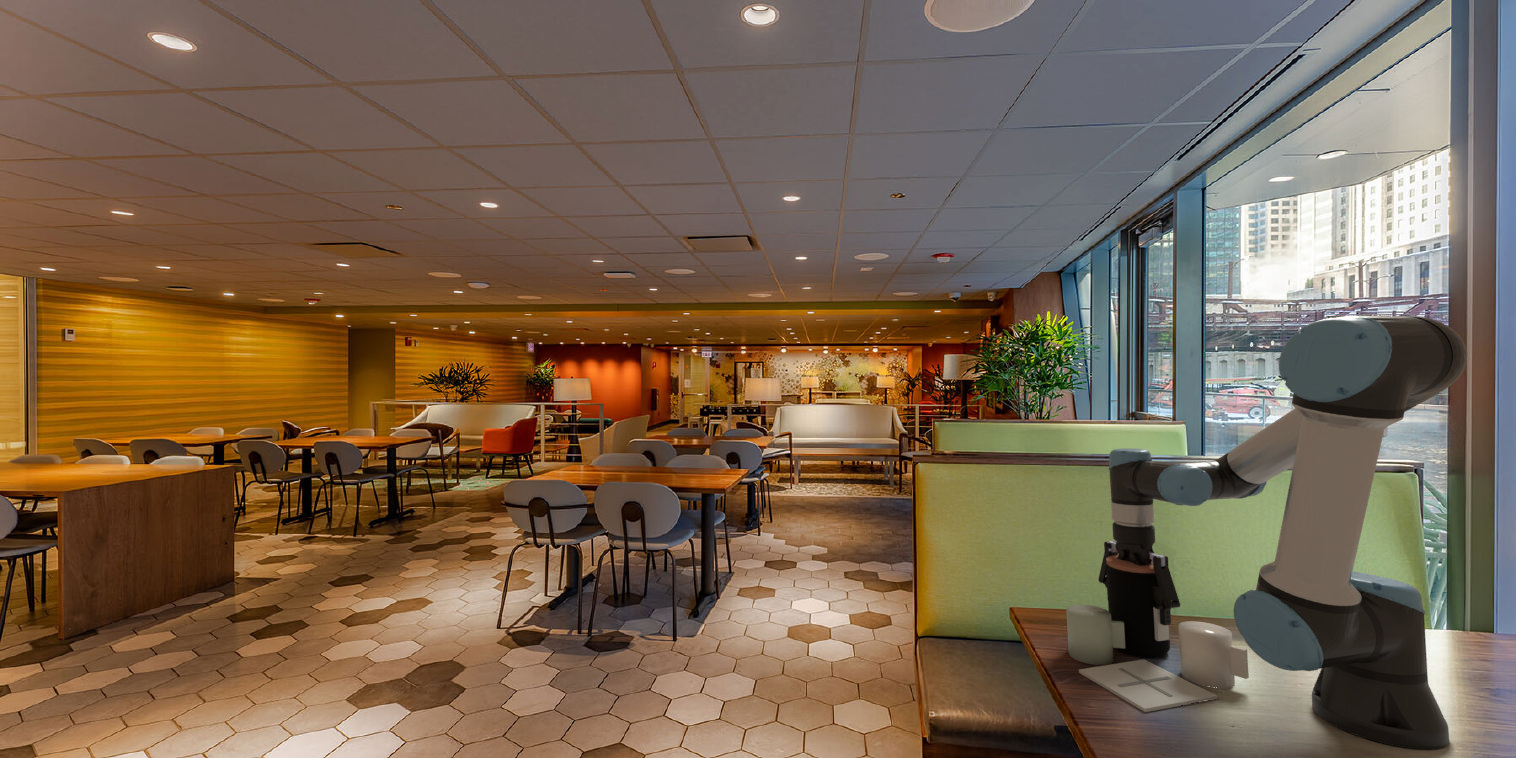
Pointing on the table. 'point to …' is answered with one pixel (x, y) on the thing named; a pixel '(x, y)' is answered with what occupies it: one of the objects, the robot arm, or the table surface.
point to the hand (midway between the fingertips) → (1138, 629)
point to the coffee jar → (1134, 606)
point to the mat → (1146, 685)
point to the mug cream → (1210, 655)
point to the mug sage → (1093, 634)
